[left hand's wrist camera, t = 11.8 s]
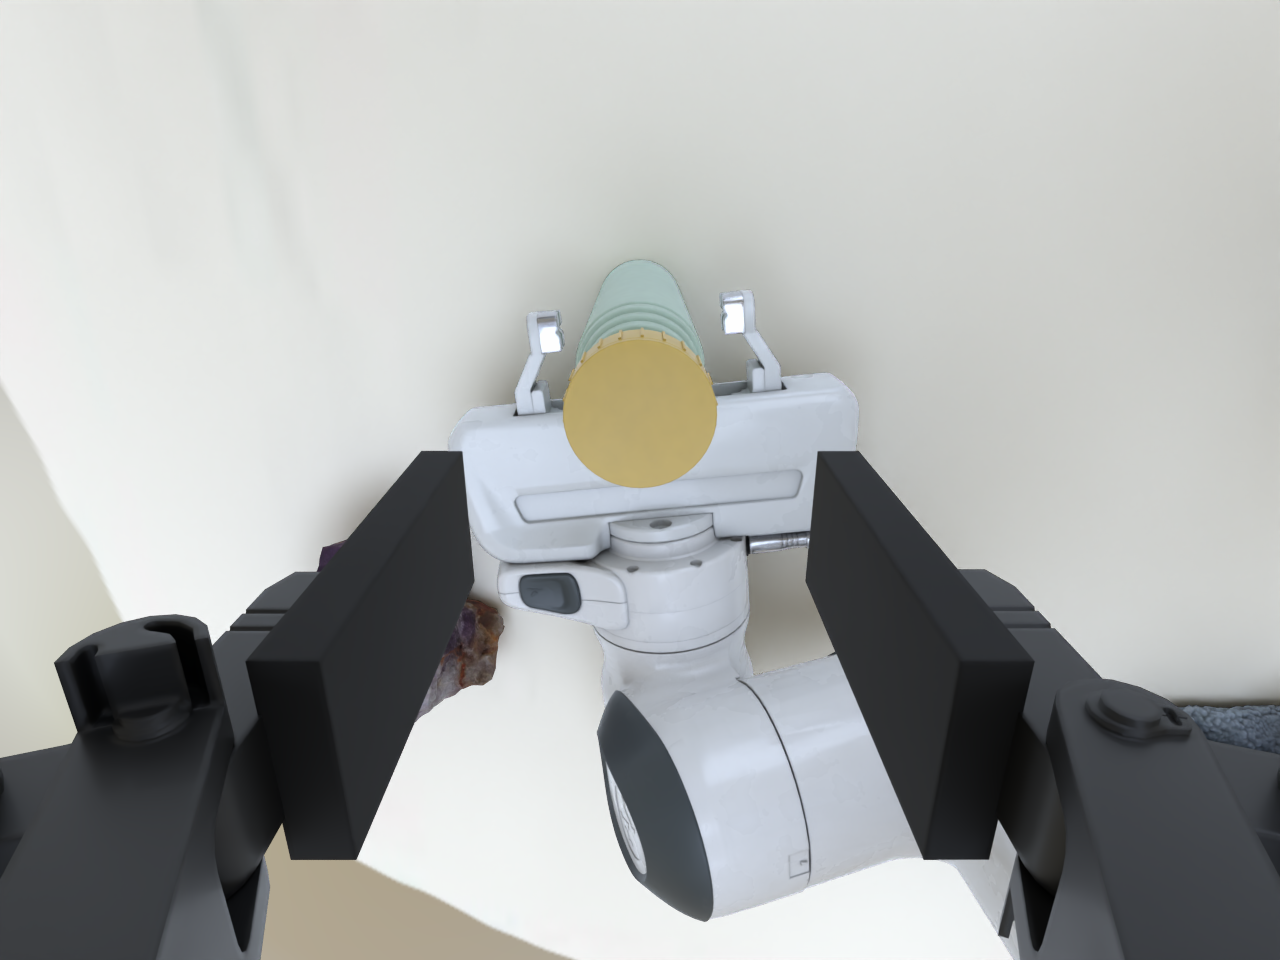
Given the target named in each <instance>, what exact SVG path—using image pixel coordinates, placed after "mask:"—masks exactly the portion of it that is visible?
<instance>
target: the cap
mask: <svg viewBox="0 0 1280 960" xmlns="http://www.w3.org/2000/svg"><path fill="white" fill-rule="evenodd" d="M568 381H570V383H569V386H568V388H567V389H566V392H565V394H564V397H563V402H564V405H563V423H564V429H565V433H566V436H567V439H568V441H569V444H570V446H571V448H572V450H573V451H574V453H575V455H576V456H577V457H578V458H579V460H580V461H581V462H582V463H583V464H584V465H585V466H586V467H587V468H588V469H589V470H590V471H592V472H593V473H594V474H595V475H597V476H599V477H601V478H602V479H604V480H606V481H609V482H611V483H613V484H617V485H620V486H625V487H631V488H649V487H655V486H660V485H663V484H666V483H669V482H672V481H674V480H676V479H678V478H680V477H681V476H683V475H684V474H686V473H687V472H688V471H690V470H691V469H692V468H693V467H694V466H695V465H696V464H697V463H698V462H699V461H700V460H701V459H702V457H703V456H704V454H705V453H706V451H707V450H708V448H709V446H710V444H711V441H712V439H713V436H714V433H715V428H716V425H717V424H716V423H717V406H718V403H717V400H716V397H715V394H714V392H713V389H712V386H711V385H713V382H712V379H711V377H710V374H709V373H707V372H706V370H705V368H704V366H703V364H702V362H701V359H700V356H699V355H697V356H696V355H695V354H694V353H693V351H692V350H691V349H689V348H688V347H687V346H686V345H685V343H684V341H683V340H682V341H681V342H680V341H679V340H677V339H676V338H674V337H671V336H669V335H667V334H665V332H664V331H662V333H661V332H658V331H652V330H644V328H641V329H637V330H627V331H623V332H622V330H619V333H616V334H613V335H610V336H608V337H606V338H605V339H602V338H601V339H599V342H598V343H597V344H595V345H594V346H593V347H592V348H591V349H590V350H588V351H587V352H584V353H583V355H582V358H581V360H580V361H579V363H578V365H577V366H576V368H575V369H572V372H571V374H570V377H569V380H568Z"/></svg>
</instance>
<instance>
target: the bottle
mask: <svg viewBox="0 0 1280 960" xmlns="http://www.w3.org/2000/svg"><path fill="white" fill-rule="evenodd" d="M641 328H644V330H652V331H658V332H661V333H662V331H664V332H665V334H667V335H669V336H671V337H674V338H676V339H677V340H679V341H680V342H681V341H682V340H683V341H684V343H685V345H686V346H687V347H688V348H689V349H691V350H692V351H693V353H694V354H695V355H696V356H697V355H699V356H700V359H701V362H702V364H703V366H705V365H704V354H703V349H702V346H701V343H700V340H699V337H698V335H697V332H696V330H695V327H694V325H693V322H692V320H691V317H690V315H689V312H688V310H687V307H686V305H685V302H684V300H683V297H682V295H681V292H680V290H679V287H678V285H677V283H676V281H675V279H674V278H673V276H672V275H671V274H670V273H669V272H668V271H667V270H666V269H665V268H664V267H662V266H661V265H659V264H657V263H655V262H652V261H647V260H633V261H628V262H626V263H623V264H621V265H619V266H618V267H616V268H615V269H614V270H613V271H612V272H611V273H610V274H609V275H608V276H607V277H606V279H605V281H604V283H603V285H602V287H601V290H600V292H599V295H598V297H597V300H596V302H595V305H594V307H593V310H592V312H591V315H590V317H589V320H588V322H587V325H586V327H585V330H584V332H583V335H582V337H581V340H580V342H579V346H578V349H577V354H576V366H577V365H578V363H579V361H580V360H581V358H582V355H583V353H584V352H587V351H588V350H590V349H591V348H592V347H593V346H594V345H595V344H597V343H598V342H599V339H601V338H602V339H605V338H606V337H608V336H610V335H613V334H616V333H619V330H622V332H623V331H627V330H637V329H641Z"/></svg>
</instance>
